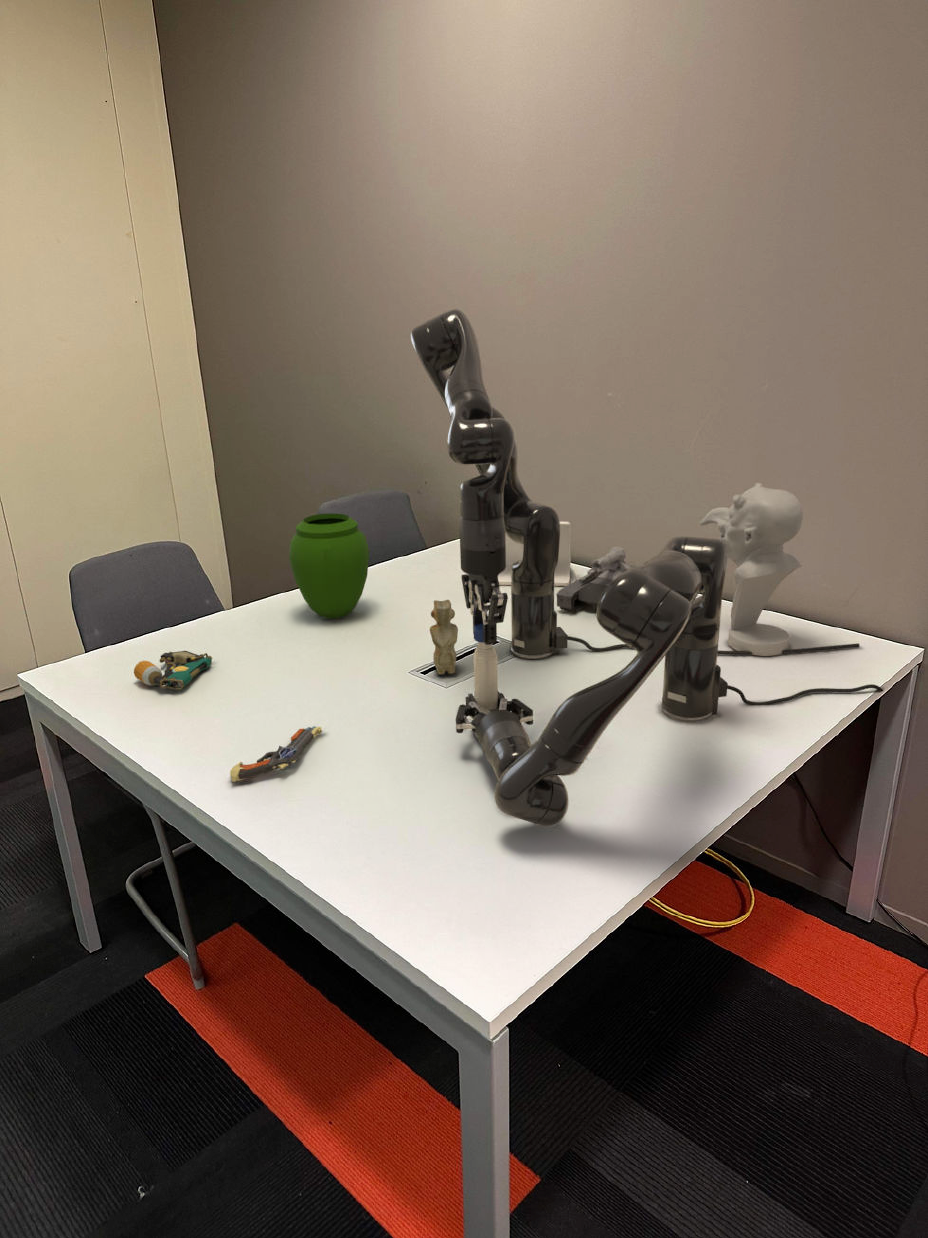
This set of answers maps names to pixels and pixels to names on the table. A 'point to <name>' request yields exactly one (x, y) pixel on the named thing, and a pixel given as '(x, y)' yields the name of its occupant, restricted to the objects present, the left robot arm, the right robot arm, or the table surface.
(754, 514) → the bust sculpture
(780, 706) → the table surface
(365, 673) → the table surface
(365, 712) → the table surface
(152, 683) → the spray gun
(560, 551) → the tablet stand
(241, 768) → the toy gun
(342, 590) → the vase
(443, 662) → the sculpture
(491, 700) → the bottle
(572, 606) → the toy
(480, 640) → the cap
